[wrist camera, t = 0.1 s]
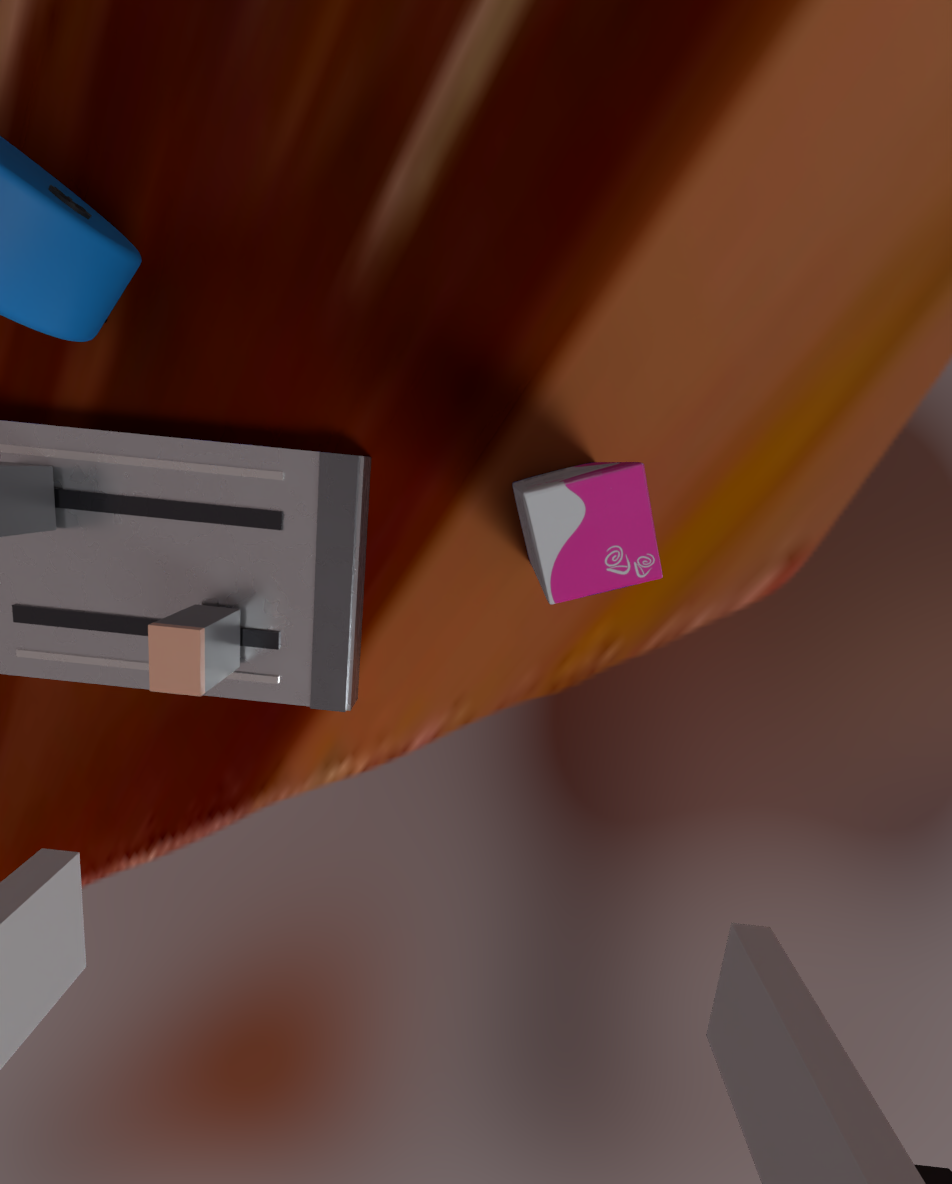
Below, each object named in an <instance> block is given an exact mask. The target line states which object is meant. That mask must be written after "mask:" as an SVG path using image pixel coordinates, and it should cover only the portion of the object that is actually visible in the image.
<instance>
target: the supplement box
mask: <svg viewBox="0 0 952 1184" xmlns="http://www.w3.org/2000/svg"><path fill="white" fill-rule="evenodd" d="M512 486H513V491H514V495H515V500H516V504H517V509H518V513H519V518H520V522H521V527H522V531H523V535H524V540H525V544H526V548H527V552H528V557H529V560H530V564H531V565H532V567H533V569H534V571H535V574H536V576H537V578H538V580H539V583H540V585H541V587H542V589H543V591H544V594H545V596H546V598H547V601H548V602H549V604H555V603H560V602H564V601H569V600H573V599H577V598H581V597H585V596H590V595H594V594H598V593H602V592H606V591H610V590H614V589H619V588H623V587H627V586H631V585H635V584H639V583H643V582H648V581H652V580H656V579H660V578H662V577H663V575H662V570H661V564H660V558H659V553H658V548H657V542H656V536H655V529H654V523H653V518H652V511H651V505H650V499H649V493H648V488H647V481H646V475H645V470H644V464H643V463H640V462H617V463H616V462H612V463H610V462H592V463H586V464H581V465H577V466H573V467H568V468H564V469H560V470H556V471H552V472H548V473H545V474H541V475H537V476H533V477H530V478H526V479H523V480H519V481H516V482H513V483H512Z"/></svg>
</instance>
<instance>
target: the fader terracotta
mask: <svg viewBox="0 0 952 1184" xmlns="http://www.w3.org/2000/svg"><path fill="white" fill-rule="evenodd" d="M148 647H149V684H150V691H155V692H164V693H174V694H183V695H193V696H202V695H203V694H204V693H206V692H207V691H208V690H210V689H211V688H212V687H214V686H215V685H216V684H218V683H219V682H220V681H222V680H223V679H224V678H226V677H227V676H228V675H230V674H231V673H232V672H234V671H235V670H236V669H238V668H239V667H240V609H235V608H226V607H216V606H206V605H196V604H195V605H193V606H190V607H188V608H186V609H183V610H181V611H179V612H176V613H174V614H172V615H170V616H167V617H165V618H163V619H160V620H158V621H156V622H153V623H151V624H149V625H148Z"/></svg>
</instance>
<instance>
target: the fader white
mask: <svg viewBox="0 0 952 1184" xmlns="http://www.w3.org/2000/svg"><path fill="white" fill-rule="evenodd" d="M52 530H56V515H55V499H54V482H53V466H43V465H33V464H23V463H13V462H0V537H4V536H12V535H20V534H28V533H36V532H44V531H52Z"/></svg>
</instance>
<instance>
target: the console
mask: <svg viewBox="0 0 952 1184" xmlns="http://www.w3.org/2000/svg"><path fill="white" fill-rule="evenodd" d="M0 462H13V463H23V464H33V465H43V466H53V482H54V499H55V515H56V530H52V531H44V532H36V533H28V534H20V535H12V536H4V537H0V674H7V675H17V676H26V677H36V678H45V679H55V680H64V681H74V682H83V683H93V684H102V685H112V686H121V687H131V688H140V689H150V684H149V647H148V625H149V624H151V623H153V622H156V621H158V620H160V619H163V618H165V617H167V616H170V615H172V614H174V613H176V612H179V611H181V610H183V609H186V608H188V607H190V606H193V605H195V604H196V605H206V606H216V607H226V608H235V609H240V667H239V668H238V669H236V670H235V671H234V672H232V673H231V674H230V675H228V676H227V677H226V678H224V679H223V680H222V681H220V682H219V683H218V684H216V685H215V686H214V687H212V688H211V689H210V690H208V691H207V692H206V693H204V694H203V695H207V696H216V697H226V698H235V699H245V700H254V701H264V702H273V703H283V704H292V705H302V706H310V708H312V709H322V710H331V711H341V712H345V711H346V710H350V711H351V709H352V707H353V706H354V704H355V703H356V701H357V699H358V683H359V665H360V647H361V630H362V612H363V594H364V576H365V558H366V540H367V523H368V505H369V487H370V469H371V457H365V456H356V455H346V454H336V453H325V452H315V451H305V450H295V449H285V448H275V447H264V446H254V445H244V444H234V443H224V442H214V441H204V440H194V439H184V438H173V437H163V436H153V435H143V434H133V433H123V432H113V431H103V430H93V429H83V428H72V427H62V426H52V425H42V424H32V423H22V422H12V421H2V420H0Z"/></svg>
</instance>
